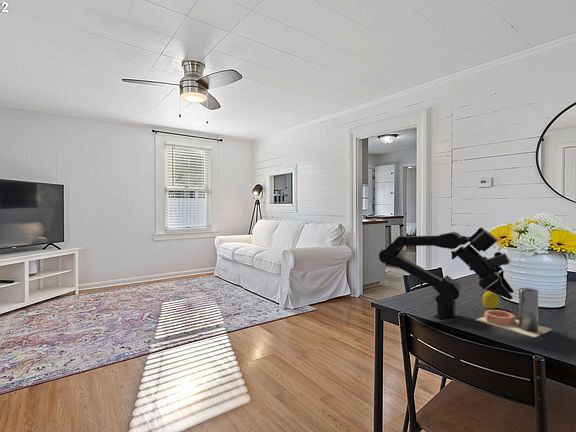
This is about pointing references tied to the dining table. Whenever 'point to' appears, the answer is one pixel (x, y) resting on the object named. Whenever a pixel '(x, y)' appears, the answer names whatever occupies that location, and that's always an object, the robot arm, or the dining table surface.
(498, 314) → the ring
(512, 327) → the birch board
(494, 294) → the lemon
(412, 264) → the robot arm
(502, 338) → the dining table surface
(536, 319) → the steel sleeve
